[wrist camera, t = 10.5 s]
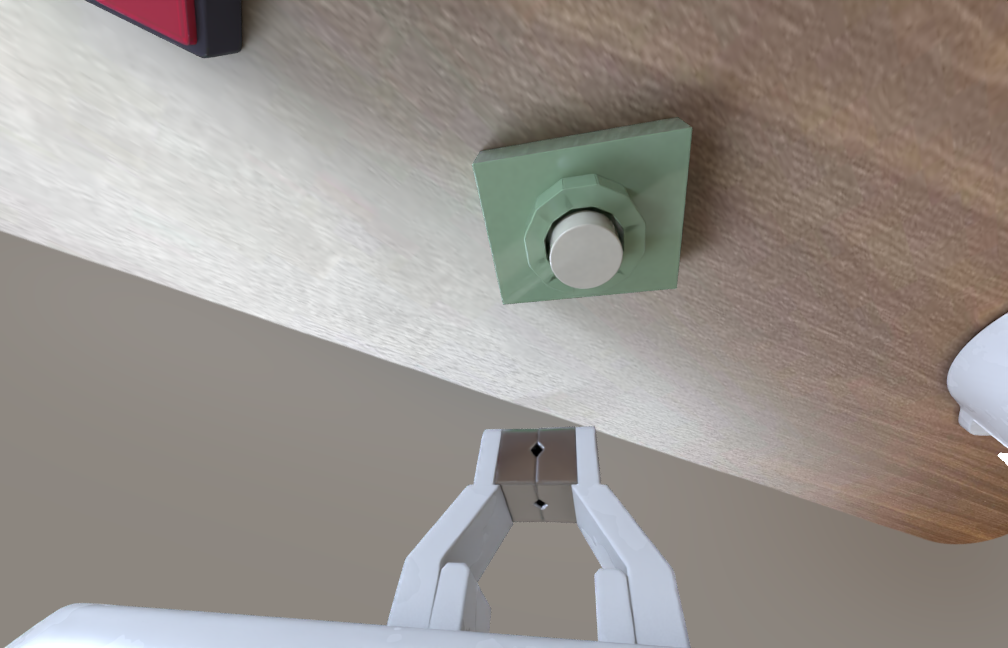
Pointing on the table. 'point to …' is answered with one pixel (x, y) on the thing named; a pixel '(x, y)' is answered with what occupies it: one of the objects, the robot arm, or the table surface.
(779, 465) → the table surface
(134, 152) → the table surface
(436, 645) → the robot arm
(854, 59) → the table surface
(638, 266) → the grey button cap base
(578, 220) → the grey button cap
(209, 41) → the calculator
